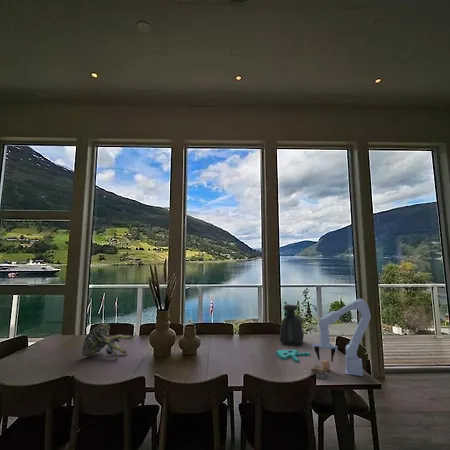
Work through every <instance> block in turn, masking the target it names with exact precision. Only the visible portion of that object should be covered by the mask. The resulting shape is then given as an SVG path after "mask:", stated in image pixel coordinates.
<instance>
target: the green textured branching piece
mask: <svg viewBox="0 0 450 450" xmlns="http://www.w3.org/2000/svg"><path fill="white" fill-rule="evenodd" d="M110 327H111V326H110V324H109V323H107V322H105V323H104V322H103V323H101V324H98V325H96V326H95V327H94V328H93V329H91V330H90V331H89V332H88V333H87V335H86V337H85V338H84V341H83V344H82V351H81V354H82V356H83V357H93V356H94V355H96V354H97V353H99V352H100V351H101V350H102V349H103V348H105V347H106V345H107V348H106V350H105V352H106V354H107V355H108V356H109V355H111V356H114V359H115V360H116V361H118V358H119V356H118V354H117V351H118V352H121V353H122V354H123V355H125V356H126V355H127V356H128V352H127V351H126V349H124V348H122V347H121V346H119V345H117V343H120V340H121V339H124V340H130V339H131V335H129V334H128V335H127V334H123V333H121V334H120V333H119V334H116V335H113V336H111V337H109V335H110V329H111V328H110ZM115 342H117V343H115Z"/></svg>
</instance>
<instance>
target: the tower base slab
mask: <svg viewBox="0 0 450 450" xmlns="http://www.w3.org/2000/svg"><path fill="white" fill-rule="evenodd" d="M326 372H327V371H325V370H324V373H323V375H322V374H316V373H311V371H310V373H309V376H310V375H311V374H316V377H315V378H317V379H325V378H326V374H327V373H326Z"/></svg>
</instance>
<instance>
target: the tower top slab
mask: <svg viewBox="0 0 450 450" xmlns="http://www.w3.org/2000/svg"><path fill="white" fill-rule="evenodd" d="M310 372H311V373H316V374H322V375H323V373H324V366H322V365H315V364H312V365H311V369H310Z"/></svg>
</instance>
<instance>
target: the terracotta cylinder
mask: <svg viewBox="0 0 450 450" xmlns="http://www.w3.org/2000/svg"><path fill="white" fill-rule="evenodd" d="M330 364H331V363H330V361H329V360H327V359H324V360H322V361H321V366H324V370H325V372H330V371H331V367H330Z"/></svg>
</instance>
